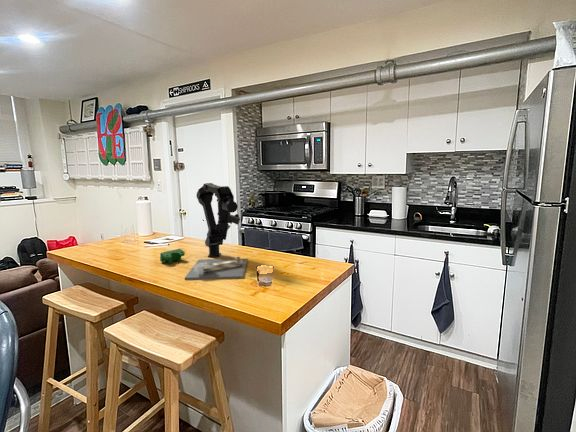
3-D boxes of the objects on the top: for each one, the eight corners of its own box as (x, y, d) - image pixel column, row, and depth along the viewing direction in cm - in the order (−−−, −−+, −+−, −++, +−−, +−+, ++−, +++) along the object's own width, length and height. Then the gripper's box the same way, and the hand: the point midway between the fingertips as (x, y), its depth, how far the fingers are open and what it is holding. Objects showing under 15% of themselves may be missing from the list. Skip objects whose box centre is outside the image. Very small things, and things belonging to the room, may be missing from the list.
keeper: (208, 271, 151) (208, 261, 150) (214, 275, 146) (214, 264, 145) (193, 275, 147) (192, 264, 146) (199, 279, 141) (198, 268, 140)
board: (198, 261, 168) (198, 259, 168) (247, 260, 170) (247, 258, 170) (184, 279, 141) (184, 277, 141) (243, 278, 142) (242, 276, 142)
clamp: (168, 272, 165) (163, 259, 160) (163, 267, 169) (157, 254, 163) (188, 259, 172) (183, 246, 167) (182, 254, 175) (177, 242, 170)
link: (240, 263, 160) (240, 255, 159) (243, 265, 156) (243, 257, 156) (201, 270, 150) (201, 261, 149) (203, 272, 146) (203, 264, 146)
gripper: (237, 212, 155) (238, 243, 157) (240, 208, 173) (241, 235, 176) (214, 213, 154) (215, 244, 157) (220, 208, 173) (221, 236, 175)
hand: (224, 239), depth 166 cm, fingers closed
